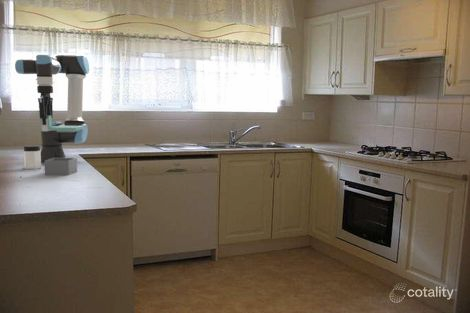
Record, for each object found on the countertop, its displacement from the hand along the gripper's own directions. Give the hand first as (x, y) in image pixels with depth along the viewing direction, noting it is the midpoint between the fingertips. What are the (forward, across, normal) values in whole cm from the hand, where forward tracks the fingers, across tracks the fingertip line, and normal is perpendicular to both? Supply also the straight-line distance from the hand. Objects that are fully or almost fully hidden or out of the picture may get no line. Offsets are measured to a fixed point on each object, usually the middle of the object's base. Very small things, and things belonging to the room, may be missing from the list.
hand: (46, 130), depth 259 cm
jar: (+21, -8, -12) cm, 26 cm away
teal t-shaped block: (0, 0, +8) cm, 8 cm away
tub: (+21, +9, +10) cm, 25 cm away
